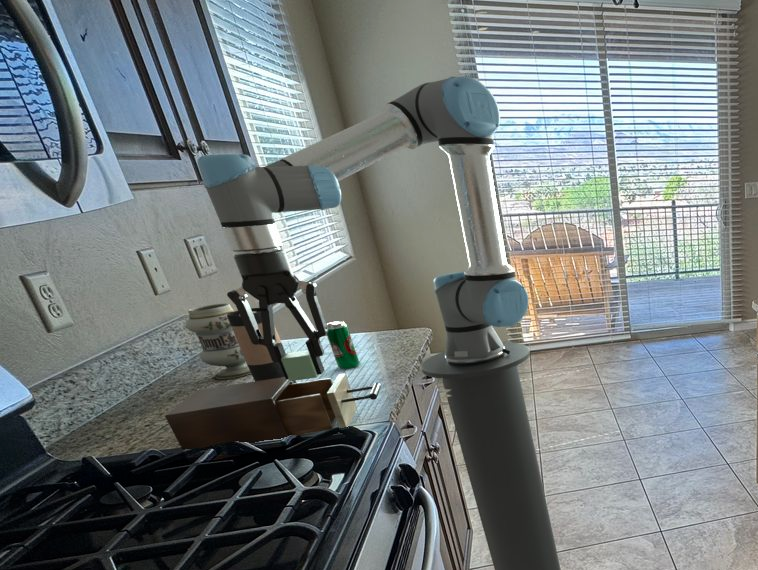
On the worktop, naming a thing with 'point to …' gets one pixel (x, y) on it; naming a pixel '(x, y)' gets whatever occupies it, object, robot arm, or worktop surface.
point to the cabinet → (229, 415)
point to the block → (299, 365)
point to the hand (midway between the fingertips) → (305, 374)
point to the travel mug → (255, 349)
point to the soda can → (342, 345)
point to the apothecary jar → (217, 340)
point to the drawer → (320, 404)
